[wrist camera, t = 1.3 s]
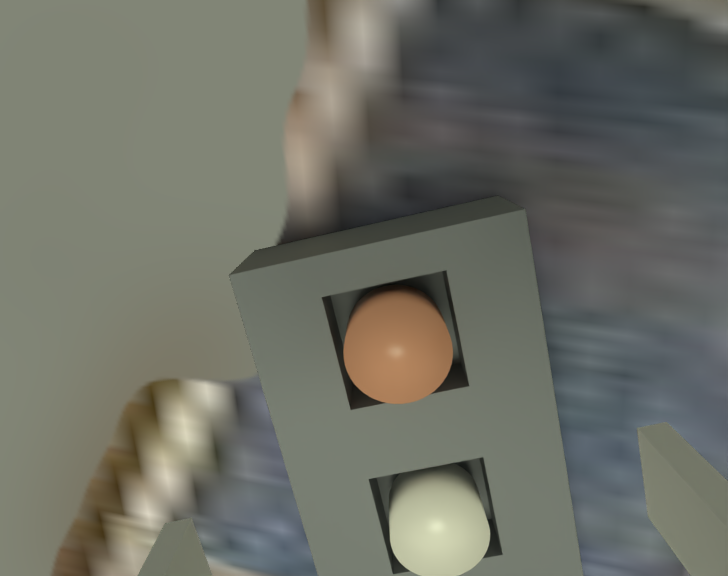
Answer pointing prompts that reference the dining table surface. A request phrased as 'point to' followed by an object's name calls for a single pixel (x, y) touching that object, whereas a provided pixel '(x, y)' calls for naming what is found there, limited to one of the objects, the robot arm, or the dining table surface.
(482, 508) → the cream button
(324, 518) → the button console
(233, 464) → the dining table surface
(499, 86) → the dining table surface
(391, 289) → the terracotta button
